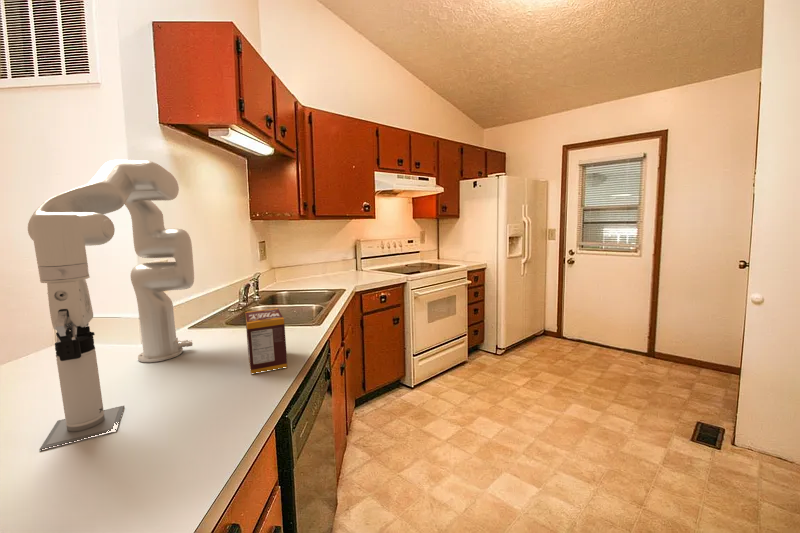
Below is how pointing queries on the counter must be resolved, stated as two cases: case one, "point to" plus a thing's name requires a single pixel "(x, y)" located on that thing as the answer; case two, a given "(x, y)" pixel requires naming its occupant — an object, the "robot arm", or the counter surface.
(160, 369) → the counter surface
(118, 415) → the mat
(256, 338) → the supplement box
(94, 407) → the travel mug
